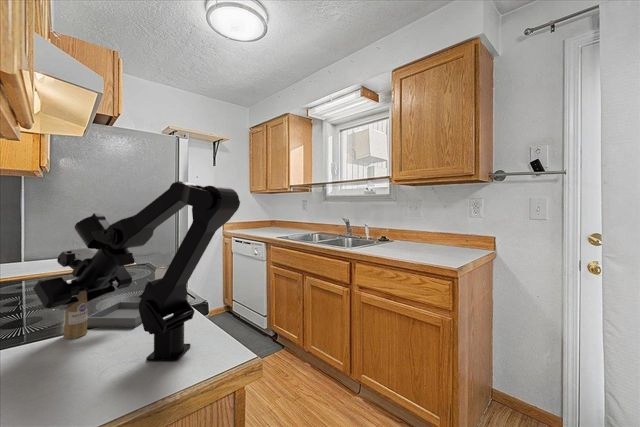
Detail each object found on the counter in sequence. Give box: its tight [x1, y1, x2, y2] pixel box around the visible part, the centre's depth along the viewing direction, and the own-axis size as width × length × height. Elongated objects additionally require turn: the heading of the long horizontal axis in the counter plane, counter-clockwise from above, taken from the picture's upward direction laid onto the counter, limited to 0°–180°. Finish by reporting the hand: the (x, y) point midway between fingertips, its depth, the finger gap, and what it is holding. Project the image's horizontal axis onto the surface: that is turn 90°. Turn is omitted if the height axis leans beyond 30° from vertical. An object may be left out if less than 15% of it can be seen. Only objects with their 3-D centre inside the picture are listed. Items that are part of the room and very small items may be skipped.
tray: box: [87, 301, 143, 329], centre depth 80 cm, size 13×13×2 cm
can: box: [154, 264, 170, 280], centre depth 94 cm, size 6×6×12 cm
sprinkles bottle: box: [63, 278, 89, 340], centre depth 69 cm, size 5×5×13 cm
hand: (71, 305), depth 69 cm, fingers closed on sprinkles bottle, 4 cm apart
